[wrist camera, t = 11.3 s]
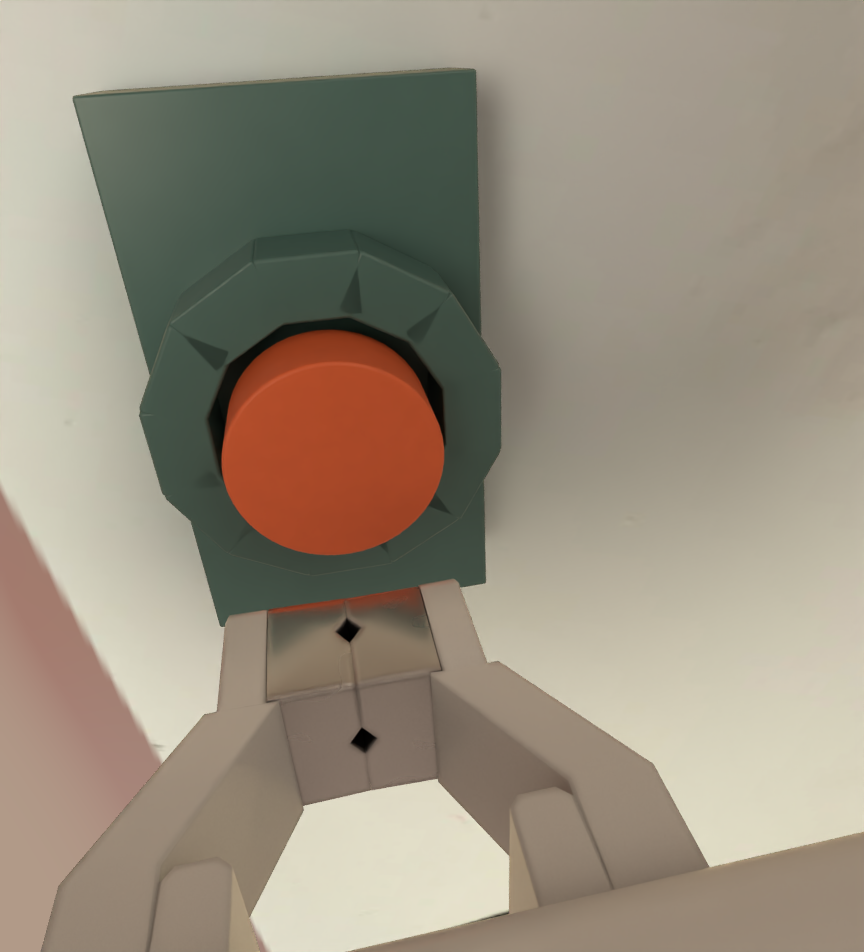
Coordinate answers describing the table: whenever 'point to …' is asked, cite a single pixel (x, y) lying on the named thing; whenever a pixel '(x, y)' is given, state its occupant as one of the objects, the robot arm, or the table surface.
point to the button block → (302, 291)
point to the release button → (330, 443)
